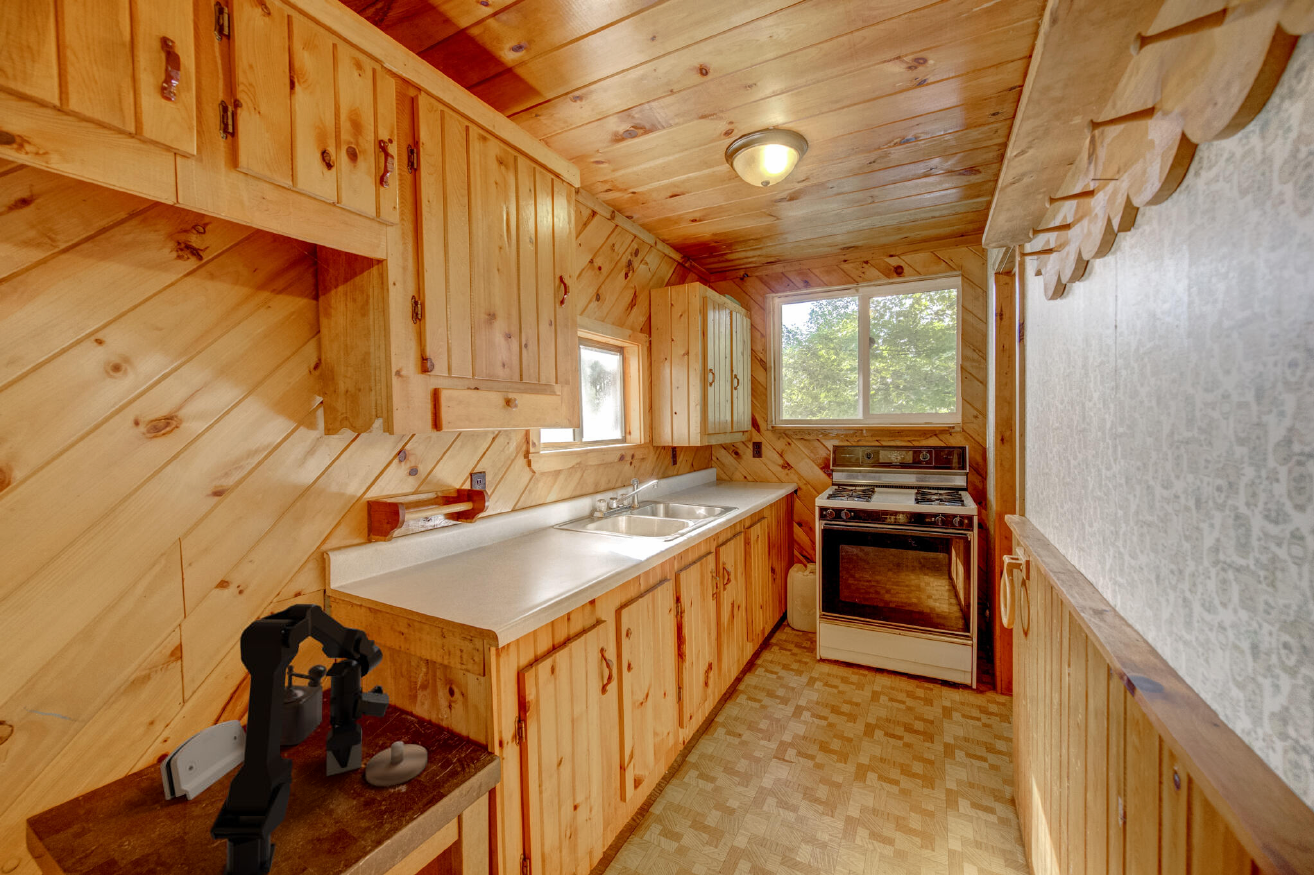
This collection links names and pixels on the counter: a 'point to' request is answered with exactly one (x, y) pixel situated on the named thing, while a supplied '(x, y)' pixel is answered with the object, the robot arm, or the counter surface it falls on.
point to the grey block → (352, 763)
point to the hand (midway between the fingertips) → (344, 758)
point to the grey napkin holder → (203, 759)
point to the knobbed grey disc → (396, 764)
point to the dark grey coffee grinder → (302, 705)
